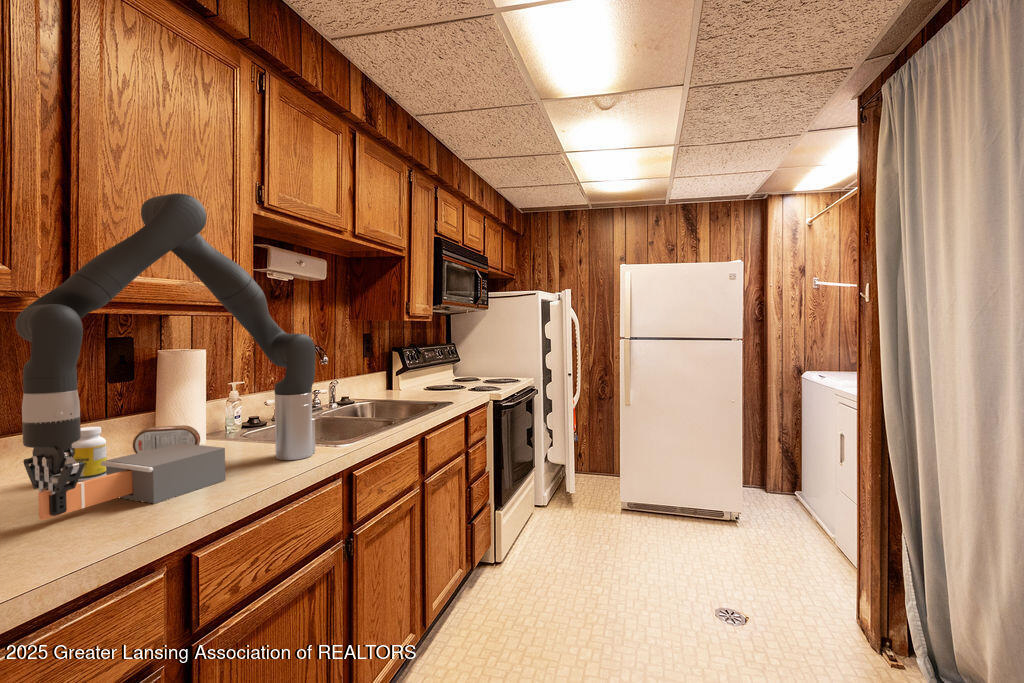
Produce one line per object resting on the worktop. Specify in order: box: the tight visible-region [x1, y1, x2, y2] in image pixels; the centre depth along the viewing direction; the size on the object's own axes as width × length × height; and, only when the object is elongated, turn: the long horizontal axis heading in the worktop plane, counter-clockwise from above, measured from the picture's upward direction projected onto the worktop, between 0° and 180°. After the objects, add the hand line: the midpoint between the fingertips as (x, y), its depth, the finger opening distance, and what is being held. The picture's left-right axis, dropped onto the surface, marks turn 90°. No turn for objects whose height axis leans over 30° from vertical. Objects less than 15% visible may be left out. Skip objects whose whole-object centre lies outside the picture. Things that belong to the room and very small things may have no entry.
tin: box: [132, 424, 201, 454], centre depth 133 cm, size 15×3×8 cm, turn 111°
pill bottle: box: [72, 426, 108, 482], centre depth 115 cm, size 6×6×12 cm
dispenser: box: [101, 443, 226, 504], centre depth 107 cm, size 17×14×8 cm
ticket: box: [37, 470, 133, 521], centre depth 94 cm, size 18×1×5 cm, turn 160°
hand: (54, 513), depth 88 cm, fingers closed
